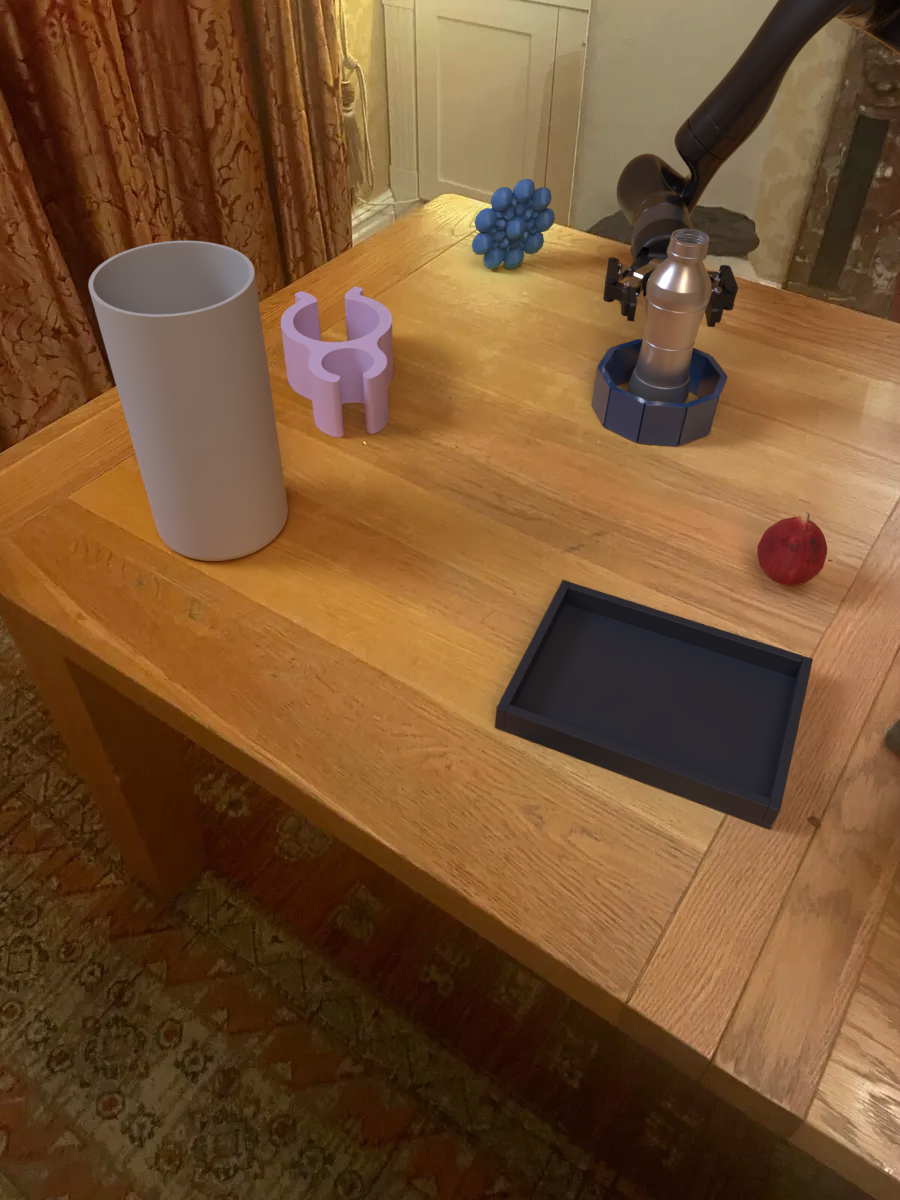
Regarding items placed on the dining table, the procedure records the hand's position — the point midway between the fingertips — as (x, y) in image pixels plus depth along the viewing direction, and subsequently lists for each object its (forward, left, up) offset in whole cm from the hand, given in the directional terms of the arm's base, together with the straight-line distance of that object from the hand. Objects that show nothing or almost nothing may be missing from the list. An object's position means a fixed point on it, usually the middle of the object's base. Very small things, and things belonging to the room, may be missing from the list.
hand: (672, 316), depth 96 cm
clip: (+34, +12, -11) cm, 37 cm away
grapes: (+28, -25, -11) cm, 39 cm away
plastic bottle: (0, +1, -11) cm, 11 cm away
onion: (-18, +23, -11) cm, 32 cm away
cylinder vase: (+33, +38, -11) cm, 51 cm away
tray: (-11, +42, -11) cm, 45 cm away
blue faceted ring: (0, +1, -11) cm, 11 cm away
